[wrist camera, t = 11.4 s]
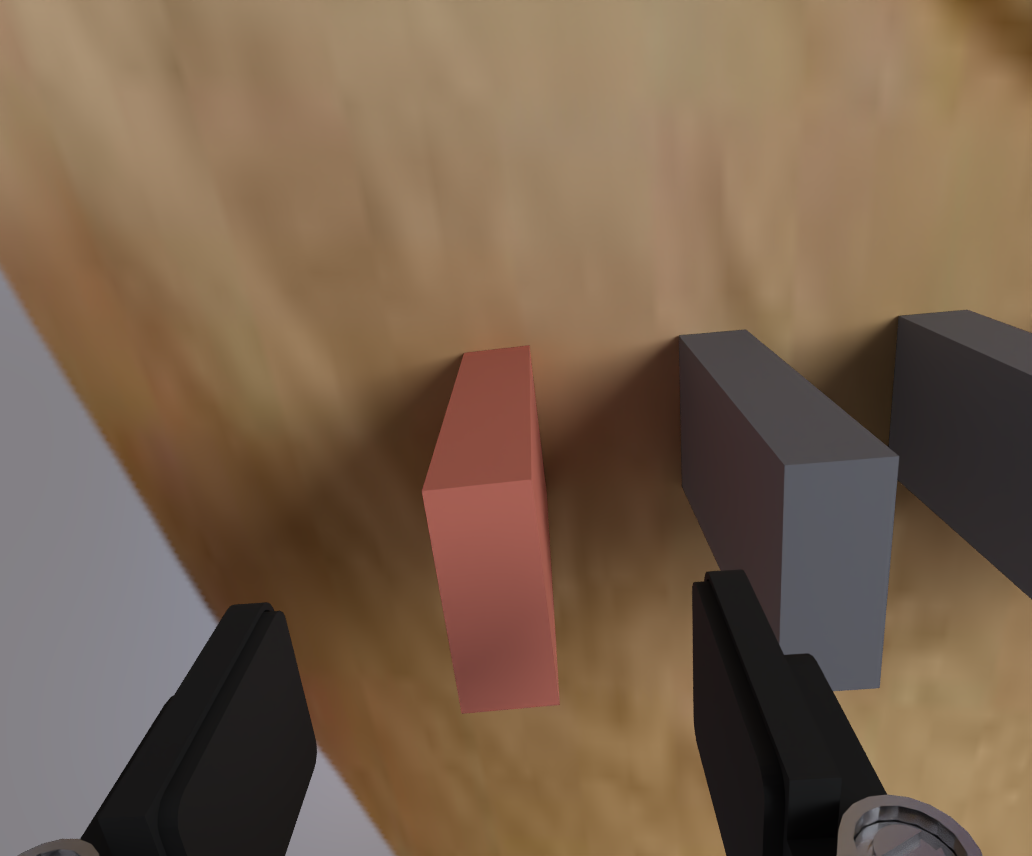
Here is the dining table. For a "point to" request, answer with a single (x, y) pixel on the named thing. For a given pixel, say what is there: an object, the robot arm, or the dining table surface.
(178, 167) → the dining table surface
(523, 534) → the red domino
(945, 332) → the domino
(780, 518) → the domino
